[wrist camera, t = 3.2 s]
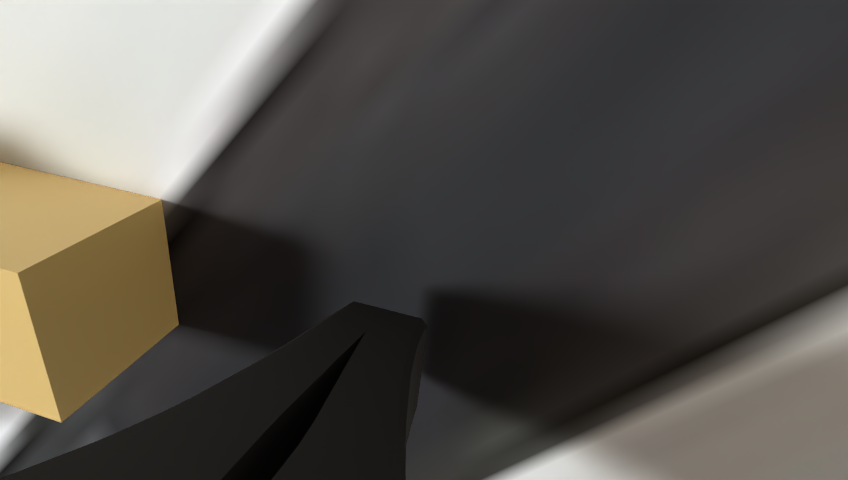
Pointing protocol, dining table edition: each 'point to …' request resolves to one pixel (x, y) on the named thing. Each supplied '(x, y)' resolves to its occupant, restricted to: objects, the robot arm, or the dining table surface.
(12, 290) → the plug
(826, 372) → the dining table surface
